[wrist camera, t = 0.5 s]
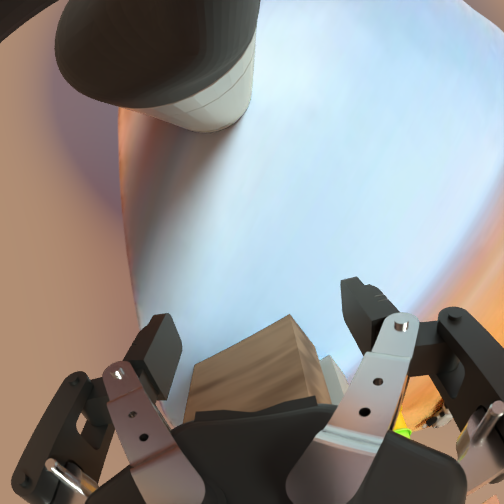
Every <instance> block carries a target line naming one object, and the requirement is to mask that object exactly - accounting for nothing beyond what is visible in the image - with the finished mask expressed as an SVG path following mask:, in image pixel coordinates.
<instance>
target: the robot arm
mask: <svg viewBox="0 0 504 504" xmlns="http://www.w3.org/2000/svg"><path fill="white" fill-rule="evenodd" d="M57 1H58V0H0V43H1V42H2V41H3V40H4V39H5V38H6V37H8V36H9V35H10V34H11V33H13V32H14V31H15V30H16V29H18V28H19V27H20V26H21V25H23V24H24V23H25V22H26V21H28V20H29V19H31V18H32V17H34V16H35V15H37V14H38V13H39V12H41V11H42V10H44V9H45V8H47V7H48V6H50V5H52V4H53V3H55V2H57ZM259 7H260V0H69V2H68V3H67V5H66V7H65V9H64V11H63V13H62V15H61V18H60V20H59V23H58V27H57V31H56V37H55V57H56V61H57V65H58V67H59V70H60V72H61V74H62V75H63V77H64V78H65V80H66V81H67V82H68V83H69V84H70V85H71V86H72V87H73V88H75V89H76V90H77V91H78V92H80V93H82V94H84V95H86V96H88V97H90V98H92V99H95V100H98V101H101V102H104V103H108V104H111V105H115V106H118V107H121V108H125V109H128V110H131V111H135V112H138V113H141V114H145V115H148V116H151V117H154V118H157V119H160V120H163V121H166V122H168V123H171V124H174V125H177V126H180V127H182V128H185V129H187V130H190V131H195V132H200V133H210V132H215V131H220V130H222V129H225V128H227V127H229V126H230V125H232V124H233V123H235V122H236V121H237V120H238V119H239V118H240V117H241V116H242V115H243V114H244V112H245V111H246V109H247V108H248V105H249V103H250V100H251V93H252V84H253V71H254V57H255V41H256V28H257V18H258V13H259ZM341 298H342V312H343V317H344V320H345V323H346V325H347V326H348V328H349V330H350V332H351V334H352V336H353V337H354V339H355V341H356V343H357V345H358V347H359V349H360V351H361V352H362V354H363V356H364V357H363V359H362V361H361V363H360V365H359V367H358V369H357V371H356V373H355V375H354V377H353V379H352V381H351V383H350V385H349V387H348V389H347V391H346V393H345V394H344V396H343V398H342V400H341V402H340V403H339V405H334V404H324V403H317V400H316V396H315V395H314V396H310V397H305V398H300V399H295V400H290V401H285V402H282V403H279V404H277V405H274V406H271V407H268V408H265V409H263V410H260V411H256V412H243V411H232V410H212V411H196V413H195V418H194V420H192V421H189V422H186V423H184V424H181V425H179V426H177V427H176V428H174V429H172V430H171V428H170V427H169V425H168V424H167V422H166V421H165V419H164V418H163V416H162V414H161V413H160V411H159V410H158V408H157V406H156V405H155V403H156V400H167V398H168V394H169V391H170V388H171V385H172V381H173V378H174V375H175V372H176V369H177V365H178V362H179V359H180V356H181V353H182V342H181V339H180V337H179V334H178V332H177V329H176V327H175V324H174V322H173V319H172V317H171V315H170V314H169V313H165V314H158V315H153V317H152V318H151V320H150V322H149V324H148V325H147V326H145V327H144V328H143V329H142V330H141V331H140V332H139V333H138V335H137V336H136V338H135V340H134V341H133V343H132V346H131V347H130V348H129V350H128V352H127V354H126V356H125V357H124V359H123V361H118V362H116V363H113V364H111V365H110V366H108V367H107V368H106V369H105V370H104V372H103V375H102V377H100V378H97V379H92V380H90V379H89V377H88V376H87V374H86V373H85V372H82V371H78V372H74V373H72V374H70V375H69V376H68V377H67V378H65V380H64V381H63V383H62V384H61V386H60V387H59V389H58V391H57V392H56V394H55V396H54V397H53V399H52V401H51V402H50V404H49V406H48V407H47V409H46V411H45V413H44V414H43V416H42V418H41V420H40V422H39V424H38V425H37V427H36V429H35V431H34V433H33V434H32V436H31V439H30V440H29V442H28V444H27V446H26V449H25V450H24V452H23V454H22V456H21V458H20V460H19V462H18V465H17V467H16V469H15V471H14V473H13V476H12V479H11V485H12V488H13V490H14V492H15V493H16V494H18V495H19V496H20V497H22V498H23V499H24V500H26V501H27V502H28V503H30V504H465V500H466V496H468V495H469V494H471V493H473V492H474V491H476V490H478V489H480V488H481V487H483V486H484V485H486V484H487V483H490V484H494V483H498V482H500V481H502V480H503V479H504V348H503V347H502V346H501V345H500V344H499V343H498V342H497V341H496V340H495V339H494V338H493V337H492V336H491V334H490V333H489V332H488V331H487V330H486V329H485V328H484V327H483V326H482V325H481V324H480V323H479V322H478V321H477V320H476V319H475V318H474V317H473V316H472V315H471V314H469V313H468V312H467V311H466V310H464V309H462V308H459V307H448V308H445V309H443V310H441V311H440V313H439V315H438V321H430V322H419V320H418V318H417V317H416V316H414V315H412V314H409V313H403V312H399V311H398V310H397V308H396V307H395V306H394V305H393V304H392V303H391V302H390V301H389V300H388V299H387V297H386V296H385V295H383V293H382V292H381V291H380V290H379V289H378V288H377V287H375V286H372V285H370V284H368V285H364V284H363V283H362V282H361V281H360V280H359V278H358V277H353V278H349V279H344V280H341ZM423 375H429V376H430V378H431V379H432V381H433V383H434V385H435V386H436V388H437V390H438V391H439V393H440V395H441V397H442V398H443V400H444V402H445V404H446V406H447V407H448V409H449V411H450V413H451V415H452V417H453V418H454V420H455V422H456V424H457V426H458V428H459V430H460V432H461V434H460V436H459V437H458V439H457V442H456V450H457V454H458V461H456V460H455V459H454V458H452V457H450V456H449V455H447V454H445V453H442V452H440V451H437V450H435V449H432V448H430V447H427V446H425V445H423V444H420V443H418V442H416V441H414V440H411V439H409V438H407V437H405V436H403V435H400V434H398V433H396V432H394V431H393V430H394V427H395V424H396V421H397V418H398V415H399V412H400V409H401V406H402V403H403V399H404V396H405V393H406V390H407V386H408V383H409V379H410V377H414V376H423ZM80 413H82V414H83V415H84V416H85V418H86V419H87V421H86V423H85V426H84V428H83V431H82V433H81V435H80V434H79V433H78V431H77V428H76V422H77V420H78V417H79V415H80ZM115 430H116V432H117V434H118V437H119V440H120V442H121V445H122V447H123V449H124V451H125V454H126V456H127V458H128V461H129V463H130V465H128V466H127V467H126V468H124V469H123V470H122V471H121V472H119V473H118V474H116V475H115V476H114V477H113V478H111V479H110V480H109V481H107V482H106V483H104V484H103V485H102V486H100V487H99V486H98V481H99V478H100V475H101V471H102V468H103V465H104V461H105V458H106V455H107V452H108V449H109V446H110V443H111V440H112V437H113V434H114V431H115Z"/></svg>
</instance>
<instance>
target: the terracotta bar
mask: <svg viewBox="0 0 504 504" xmlns="http://www.w3.org/2000/svg"><path fill="white" fill-rule="evenodd" d="M482 504H500V503H499V500H498V498H497V495H494V496H492V497H490V498H489V499H488V500H486V501H485V502H483V503H482Z"/></svg>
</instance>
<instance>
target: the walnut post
mask: <svg viewBox="0 0 504 504" xmlns="http://www.w3.org/2000/svg"><path fill="white" fill-rule="evenodd" d="M314 395H315V396H316V400H317V403H324V404H332V402H331V399H330V395H329V392H328V388H327V385H326V382H325V378H324V375H323V372H322V369H321V365H320V362H319V359H318V356H317V352H316V349H315V346H314V345H313V344H312V342H311V341H310V340H309V338H308V337H307V336H306V335H305V333H304V332H303V331H302V329H301V328H300V327H299V325H298V324H297V323H296V322H295V320H294V319H293V318H292V316H291V315H290V314H289V315H287V316H285V317H284V318H282V319H280V320H278V321H277V322H275V323H273V324H271V325H270V326H268V327H266V328H264V329H263V330H261V331H259V332H257V333H255V334H253V335H252V336H250V337H248V338H246V339H244V340H242V341H241V342H239V343H237V344H235V345H233V346H231V347H229V348H227V349H225V350H223V351H221V352H220V353H218V354H216V355H214V356H212V357H210V358H208V359H206V360H204V361H202V362H200V363H198V364H196V365H195V366H194V371H193V375H192V380H191V385H190V390H189V395H188V399H187V404H186V409H185V414H184V420H183V424H184V423H186V422H189V421H192V420H194V418H195V413H196V411H212V410H232V411H243V412H256V411H260V410H263V409H265V408H268V407H271V406H274V405H277V404H279V403H282V402H285V401H290V400H295V399H300V398H305V397H310V396H314Z"/></svg>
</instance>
